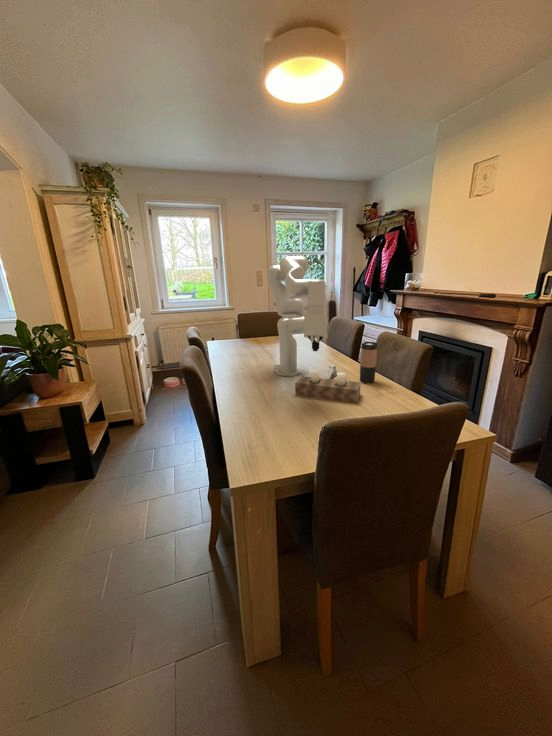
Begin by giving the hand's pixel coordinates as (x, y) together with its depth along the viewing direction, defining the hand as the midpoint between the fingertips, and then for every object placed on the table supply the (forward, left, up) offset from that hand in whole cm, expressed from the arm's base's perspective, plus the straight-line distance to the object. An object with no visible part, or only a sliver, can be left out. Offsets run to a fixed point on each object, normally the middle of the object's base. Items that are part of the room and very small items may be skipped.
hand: (315, 350), depth 137 cm
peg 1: (0, 0, -15) cm, 15 cm away
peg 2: (+12, 0, -15) cm, 19 cm away
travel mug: (+21, +24, -21) cm, 38 cm away
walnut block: (+6, 0, -21) cm, 22 cm away
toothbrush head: (+2, +19, -21) cm, 29 cm away
